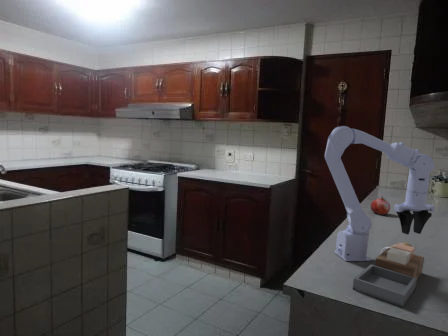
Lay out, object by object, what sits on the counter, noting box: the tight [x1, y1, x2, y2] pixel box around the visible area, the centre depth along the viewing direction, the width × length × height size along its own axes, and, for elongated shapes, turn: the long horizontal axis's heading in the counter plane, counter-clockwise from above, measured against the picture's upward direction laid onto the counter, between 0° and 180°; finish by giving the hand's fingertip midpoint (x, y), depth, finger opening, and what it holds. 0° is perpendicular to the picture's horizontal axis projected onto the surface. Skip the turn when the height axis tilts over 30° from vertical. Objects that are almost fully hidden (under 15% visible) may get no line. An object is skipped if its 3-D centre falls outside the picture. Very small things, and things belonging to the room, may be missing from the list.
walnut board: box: [374, 248, 425, 280], centre depth 99 cm, size 14×10×5 cm
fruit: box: [370, 195, 391, 216], centre depth 177 cm, size 9×10×10 cm
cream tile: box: [387, 248, 411, 265], centre depth 97 cm, size 5×5×2 cm
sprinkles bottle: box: [379, 241, 413, 255], centre depth 112 cm, size 5×5×13 cm
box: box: [352, 264, 418, 308], centre depth 88 cm, size 14×12×3 cm
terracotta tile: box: [392, 242, 416, 260], centre depth 101 cm, size 5×5×2 cm
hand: (411, 233), depth 106 cm, fingers open, 4 cm apart
